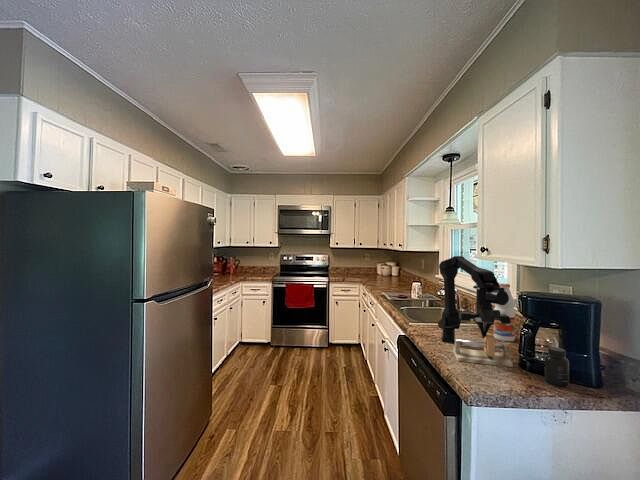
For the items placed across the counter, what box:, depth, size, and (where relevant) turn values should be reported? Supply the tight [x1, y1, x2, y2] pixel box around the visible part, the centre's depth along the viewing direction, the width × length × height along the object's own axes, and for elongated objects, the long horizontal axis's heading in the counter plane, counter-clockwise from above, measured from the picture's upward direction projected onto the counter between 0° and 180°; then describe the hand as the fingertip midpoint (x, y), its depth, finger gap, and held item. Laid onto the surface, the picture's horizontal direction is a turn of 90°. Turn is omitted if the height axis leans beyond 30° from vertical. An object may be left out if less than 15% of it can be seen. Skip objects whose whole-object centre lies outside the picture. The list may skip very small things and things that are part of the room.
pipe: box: [454, 338, 509, 350], centre depth 131 cm, size 20×3×3 cm, turn 75°
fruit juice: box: [493, 283, 516, 342], centre depth 159 cm, size 9×9×28 cm
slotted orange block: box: [483, 332, 496, 357], centre depth 130 cm, size 2×7×8 cm, turn 165°
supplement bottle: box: [543, 346, 570, 388], centre depth 108 cm, size 7×7×12 cm
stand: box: [452, 337, 513, 368], centre depth 131 cm, size 20×12×7 cm, turn 75°
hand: (483, 337), depth 130 cm, fingers closed
